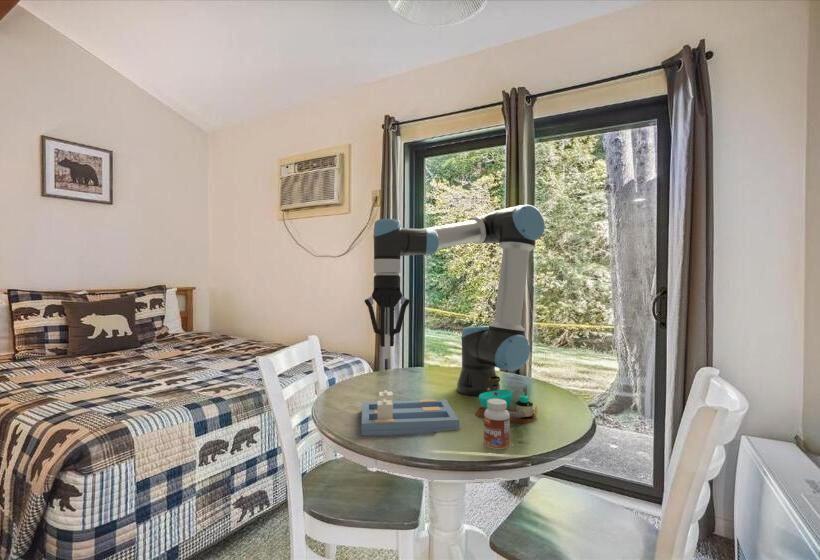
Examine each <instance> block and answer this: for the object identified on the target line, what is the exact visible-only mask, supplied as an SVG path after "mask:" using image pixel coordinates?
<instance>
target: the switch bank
mask: <svg viewBox="0 0 820 560" xmlns="http://www.w3.org/2000/svg"><path fill="white" fill-rule="evenodd" d="M458 430H461V429H460V418H459V417H458V415H457V414H456V412H455V411H454V409H453V408H452V406H451V405H450V404H449V402H448V400H447V399H445V398H444V399H435V398H434V399H429V398H428V399H416V400H415V399H414V400H393V419H377V401H362V403H361V436H362V435H379V436H395V435H396V436H398V435H419V434H420V435H421V434H422V435H423V434H436V433H437V432H438V431H440V432H442V431H458ZM392 434H393V435H392Z"/></svg>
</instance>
